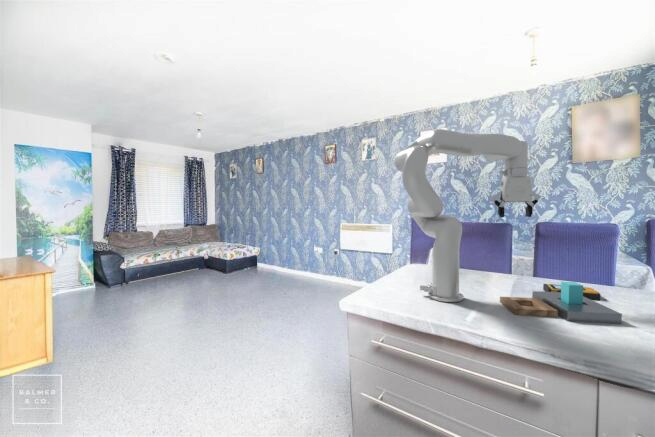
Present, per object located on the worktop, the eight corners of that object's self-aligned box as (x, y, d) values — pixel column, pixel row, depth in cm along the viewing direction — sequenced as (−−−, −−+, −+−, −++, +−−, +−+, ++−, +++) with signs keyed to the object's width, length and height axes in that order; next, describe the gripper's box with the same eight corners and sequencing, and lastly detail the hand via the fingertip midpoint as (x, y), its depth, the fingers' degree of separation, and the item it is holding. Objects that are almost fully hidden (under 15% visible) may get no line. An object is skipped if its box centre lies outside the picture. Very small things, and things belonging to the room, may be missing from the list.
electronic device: (601, 302, 103) (602, 293, 103) (548, 296, 110) (548, 287, 109) (592, 295, 110) (592, 286, 110) (542, 290, 117) (543, 282, 117)
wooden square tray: (515, 314, 91) (515, 308, 91) (499, 302, 103) (499, 296, 103) (557, 316, 89) (557, 310, 89) (536, 303, 101) (536, 298, 101)
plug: (568, 312, 93) (569, 284, 92) (560, 307, 97) (561, 281, 96) (582, 312, 92) (583, 285, 92) (574, 308, 96) (574, 282, 96)
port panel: (567, 321, 86) (567, 311, 86) (532, 299, 105) (532, 291, 105) (621, 323, 83) (621, 313, 83) (575, 300, 103) (575, 292, 103)
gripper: (495, 173, 109) (494, 217, 110) (545, 171, 106) (544, 217, 107) (488, 175, 117) (487, 216, 118) (535, 173, 114) (534, 216, 114)
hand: (514, 216), depth 112 cm, fingers open, 9 cm apart
